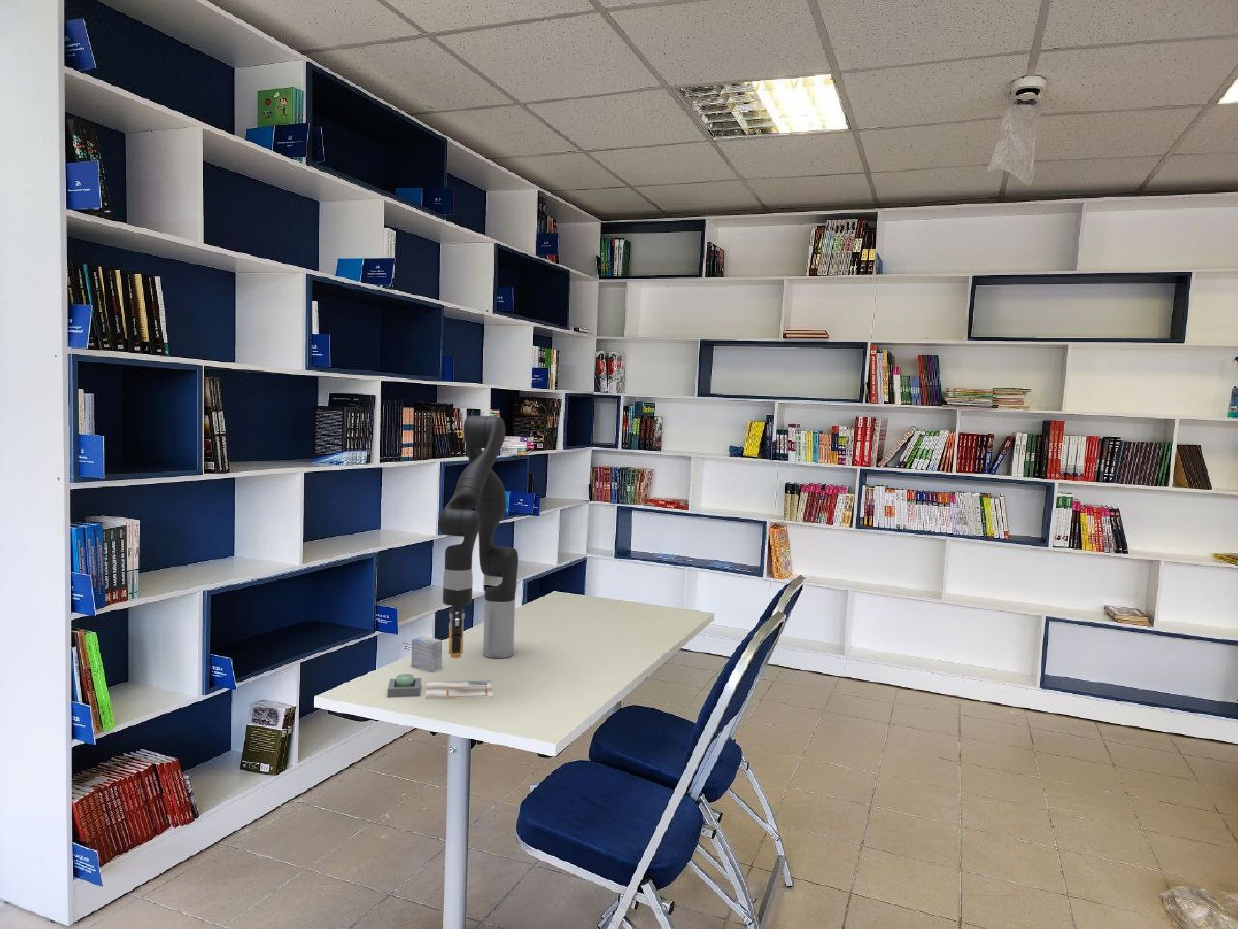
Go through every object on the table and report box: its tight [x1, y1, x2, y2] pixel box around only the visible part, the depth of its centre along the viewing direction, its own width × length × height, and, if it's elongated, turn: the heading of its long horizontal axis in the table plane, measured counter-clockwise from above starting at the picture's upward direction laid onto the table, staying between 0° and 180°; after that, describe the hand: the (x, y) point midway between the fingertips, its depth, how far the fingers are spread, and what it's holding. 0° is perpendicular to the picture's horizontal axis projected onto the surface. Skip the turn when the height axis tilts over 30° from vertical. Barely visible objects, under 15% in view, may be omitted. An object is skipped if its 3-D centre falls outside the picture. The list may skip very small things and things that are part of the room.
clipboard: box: [425, 679, 494, 700], centre depth 213 cm, size 14×19×1 cm
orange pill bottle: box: [448, 621, 464, 659], centre depth 210 cm, size 4×4×9 cm
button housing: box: [387, 677, 422, 698], centre depth 210 cm, size 8×8×2 cm
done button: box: [395, 673, 415, 687], centre depth 210 cm, size 4×4×2 cm
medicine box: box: [411, 635, 443, 673], centre depth 230 cm, size 8×4×9 cm, turn 59°
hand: (456, 650), depth 210 cm, fingers closed on orange pill bottle, 3 cm apart
